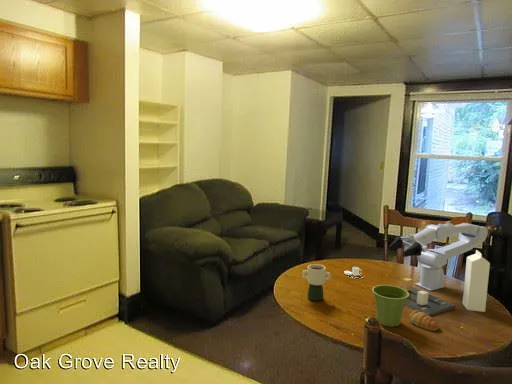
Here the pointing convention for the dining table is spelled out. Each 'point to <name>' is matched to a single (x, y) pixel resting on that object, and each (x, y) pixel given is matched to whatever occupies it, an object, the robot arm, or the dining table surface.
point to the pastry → (423, 320)
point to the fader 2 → (422, 297)
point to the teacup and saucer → (355, 272)
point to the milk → (476, 282)
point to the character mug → (316, 280)
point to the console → (433, 304)
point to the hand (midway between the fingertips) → (396, 251)
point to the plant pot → (389, 303)
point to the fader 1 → (407, 284)
